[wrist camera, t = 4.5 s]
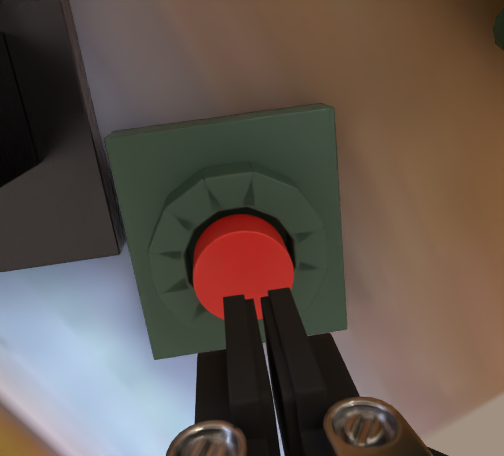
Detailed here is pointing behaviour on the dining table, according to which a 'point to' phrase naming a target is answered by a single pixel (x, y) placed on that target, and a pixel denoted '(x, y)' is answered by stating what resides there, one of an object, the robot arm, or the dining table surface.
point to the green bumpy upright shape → (499, 29)
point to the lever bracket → (49, 144)
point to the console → (229, 212)
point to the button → (239, 262)
